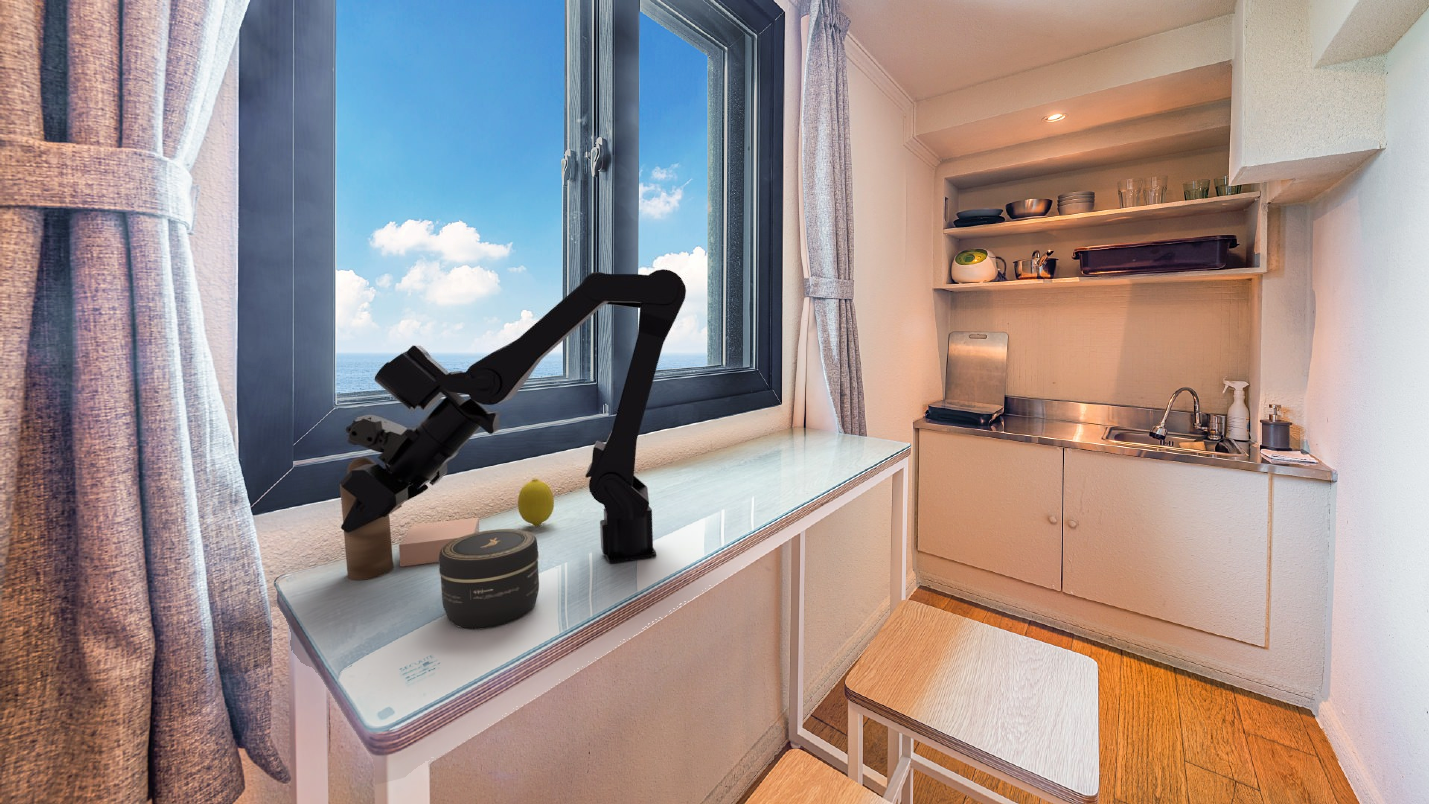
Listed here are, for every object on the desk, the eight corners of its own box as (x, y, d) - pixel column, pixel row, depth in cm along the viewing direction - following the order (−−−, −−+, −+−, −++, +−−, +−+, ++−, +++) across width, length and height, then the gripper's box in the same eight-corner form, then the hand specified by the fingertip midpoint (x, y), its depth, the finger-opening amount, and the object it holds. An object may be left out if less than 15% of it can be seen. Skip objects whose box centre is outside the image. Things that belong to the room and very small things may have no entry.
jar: (539, 584, 65) (536, 523, 64) (543, 622, 55) (539, 551, 55) (448, 598, 61) (444, 534, 61) (436, 641, 52) (431, 566, 51)
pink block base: (479, 536, 82) (478, 517, 82) (474, 557, 74) (472, 536, 73) (414, 544, 79) (412, 524, 79) (400, 566, 71) (398, 544, 70)
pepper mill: (397, 562, 72) (388, 452, 71) (388, 576, 68) (378, 459, 66) (354, 567, 71) (345, 455, 69) (342, 582, 66) (331, 462, 64)
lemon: (560, 521, 89) (558, 474, 88) (546, 532, 83) (544, 482, 82) (528, 521, 89) (526, 474, 89) (513, 532, 84) (510, 482, 83)
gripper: (418, 388, 77) (341, 467, 76) (353, 399, 58) (250, 503, 58) (479, 439, 79) (404, 517, 78) (434, 465, 60) (336, 566, 60)
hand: (355, 523), depth 68 cm, fingers closed on pepper mill, 5 cm apart
